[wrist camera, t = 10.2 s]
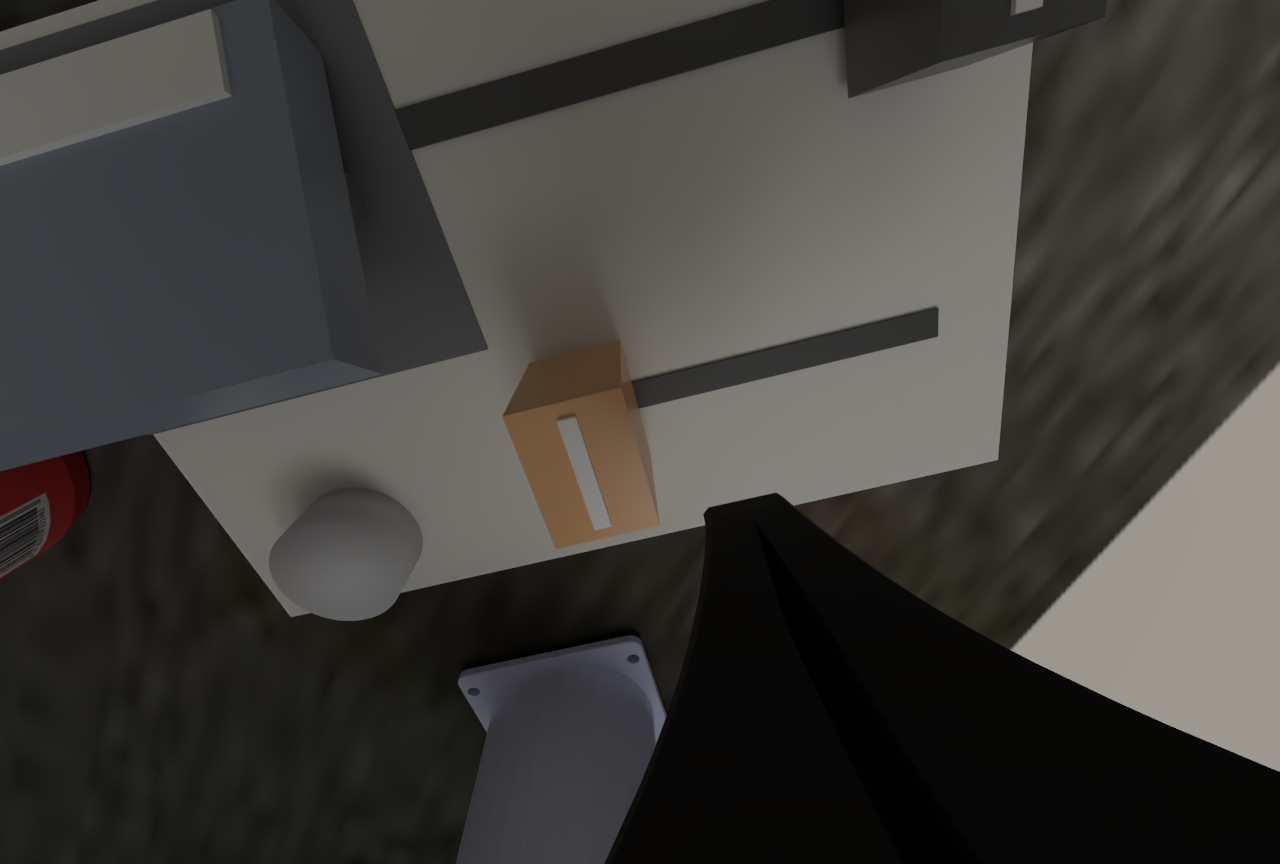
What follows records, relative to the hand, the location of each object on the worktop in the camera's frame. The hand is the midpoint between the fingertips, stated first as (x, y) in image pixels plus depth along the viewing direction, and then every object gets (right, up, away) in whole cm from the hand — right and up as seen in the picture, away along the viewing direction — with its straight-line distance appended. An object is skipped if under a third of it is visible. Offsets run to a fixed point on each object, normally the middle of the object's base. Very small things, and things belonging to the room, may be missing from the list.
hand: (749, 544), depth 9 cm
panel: (-4, +6, +6) cm, 10 cm away
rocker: (-12, +6, +1) cm, 14 cm away
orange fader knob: (-3, +3, +5) cm, 7 cm away
